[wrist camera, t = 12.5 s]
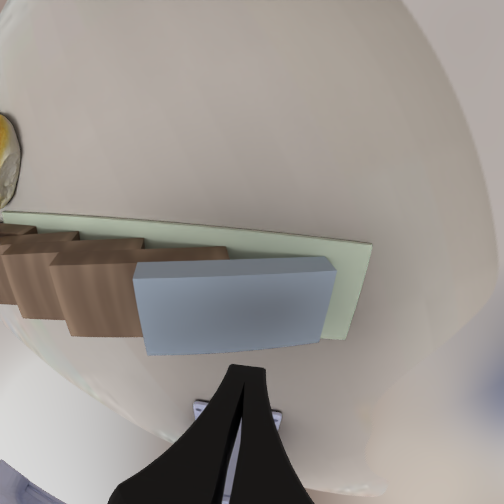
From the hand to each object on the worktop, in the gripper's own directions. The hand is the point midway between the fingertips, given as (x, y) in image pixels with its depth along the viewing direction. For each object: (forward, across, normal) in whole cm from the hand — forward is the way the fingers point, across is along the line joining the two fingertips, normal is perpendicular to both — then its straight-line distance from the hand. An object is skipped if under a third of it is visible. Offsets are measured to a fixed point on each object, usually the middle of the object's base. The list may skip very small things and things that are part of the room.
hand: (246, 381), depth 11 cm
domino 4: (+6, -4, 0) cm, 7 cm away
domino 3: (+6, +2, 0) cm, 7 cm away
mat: (+7, +8, 0) cm, 11 cm away
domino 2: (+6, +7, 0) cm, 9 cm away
